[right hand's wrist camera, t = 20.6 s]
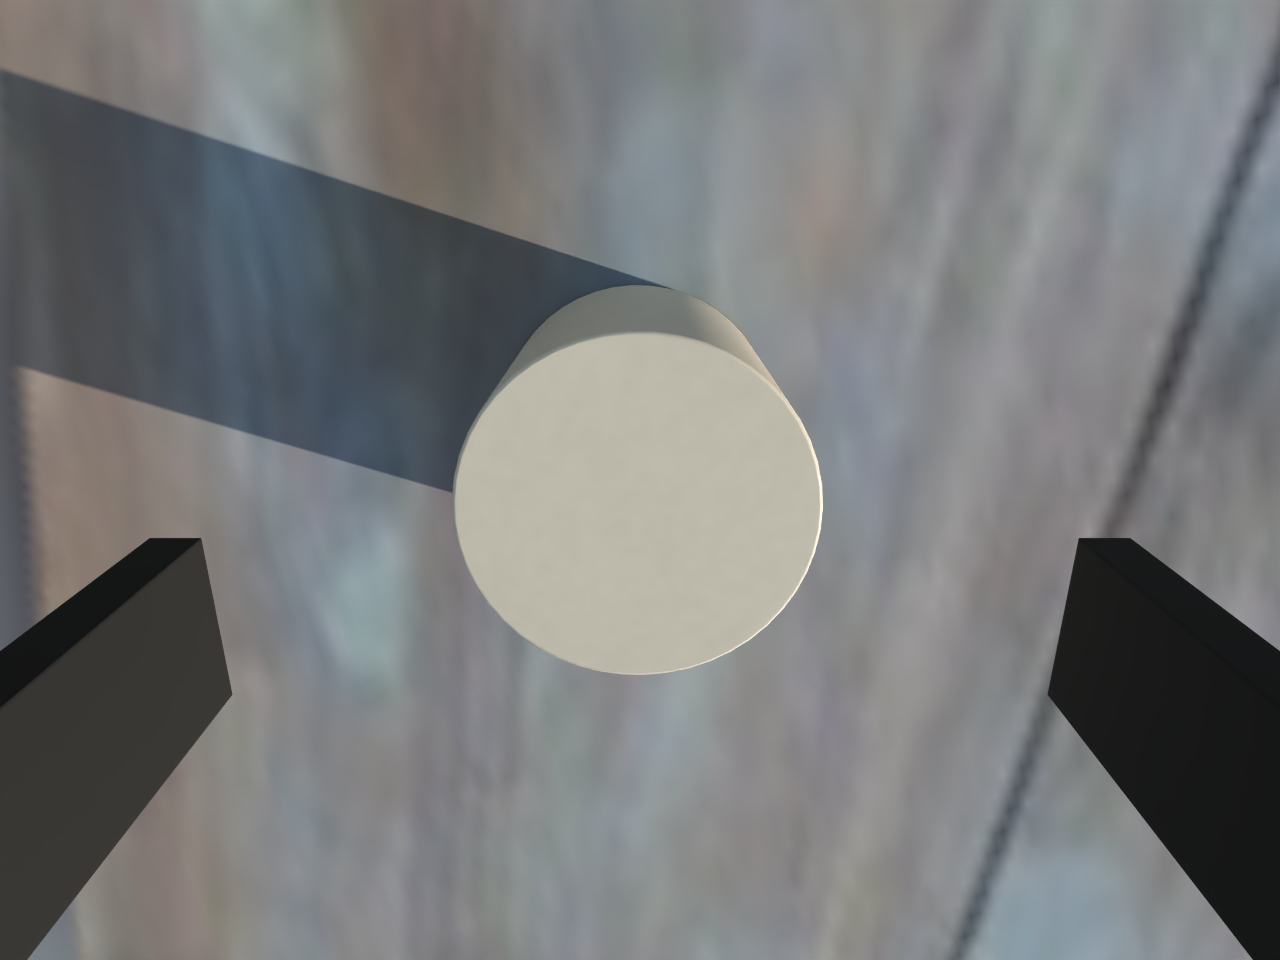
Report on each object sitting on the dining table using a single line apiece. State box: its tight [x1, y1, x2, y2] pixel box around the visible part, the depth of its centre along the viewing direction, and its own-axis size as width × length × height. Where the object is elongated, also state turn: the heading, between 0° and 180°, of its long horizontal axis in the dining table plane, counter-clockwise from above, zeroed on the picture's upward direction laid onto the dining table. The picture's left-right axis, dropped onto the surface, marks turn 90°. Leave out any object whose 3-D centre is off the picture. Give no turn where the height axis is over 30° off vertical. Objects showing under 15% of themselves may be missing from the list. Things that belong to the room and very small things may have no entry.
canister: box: [452, 285, 823, 675], centre depth 21 cm, size 8×8×7 cm
